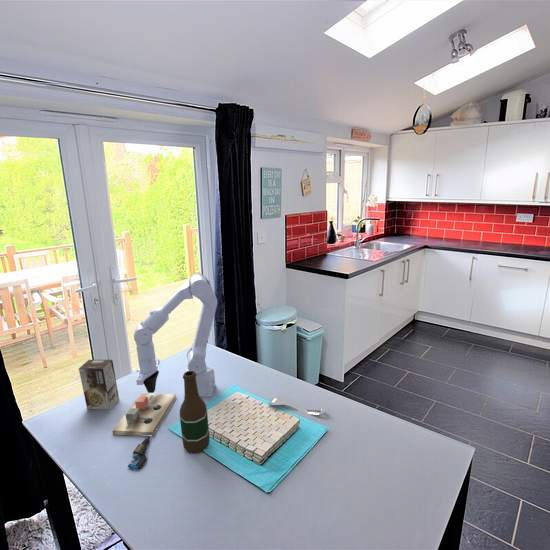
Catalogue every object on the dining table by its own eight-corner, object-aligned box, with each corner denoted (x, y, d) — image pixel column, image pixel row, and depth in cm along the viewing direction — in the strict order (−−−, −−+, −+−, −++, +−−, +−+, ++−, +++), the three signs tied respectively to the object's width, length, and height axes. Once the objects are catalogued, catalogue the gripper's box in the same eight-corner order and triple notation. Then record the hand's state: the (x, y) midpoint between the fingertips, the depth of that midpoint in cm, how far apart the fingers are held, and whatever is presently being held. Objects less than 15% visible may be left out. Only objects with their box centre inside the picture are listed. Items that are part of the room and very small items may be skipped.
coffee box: (120, 399, 131) (113, 359, 127) (110, 410, 125) (103, 368, 121) (96, 398, 132) (89, 358, 128) (85, 409, 126) (77, 368, 122)
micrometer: (139, 466, 98) (122, 464, 99) (140, 472, 99) (123, 470, 100) (160, 436, 110) (145, 434, 110) (160, 441, 110) (145, 439, 111)
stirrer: (326, 401, 120) (323, 409, 116) (327, 410, 121) (323, 419, 117) (271, 393, 128) (266, 401, 124) (272, 402, 129) (266, 410, 124)
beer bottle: (215, 440, 109) (208, 369, 103) (199, 458, 102) (191, 383, 96) (194, 433, 112) (186, 364, 106) (177, 450, 106) (169, 377, 99)
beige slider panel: (176, 397, 131) (174, 385, 130) (152, 436, 112) (150, 422, 111) (141, 396, 132) (140, 384, 131) (113, 434, 113) (110, 420, 112)
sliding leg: (159, 404, 124) (158, 397, 123) (155, 410, 121) (154, 402, 120) (140, 404, 125) (139, 396, 124) (136, 409, 122) (135, 401, 121)
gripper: (144, 347, 134) (149, 380, 137) (125, 367, 120) (131, 403, 124) (163, 348, 133) (167, 380, 137) (146, 368, 119) (151, 404, 123)
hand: (151, 391), depth 130 cm, fingers closed
